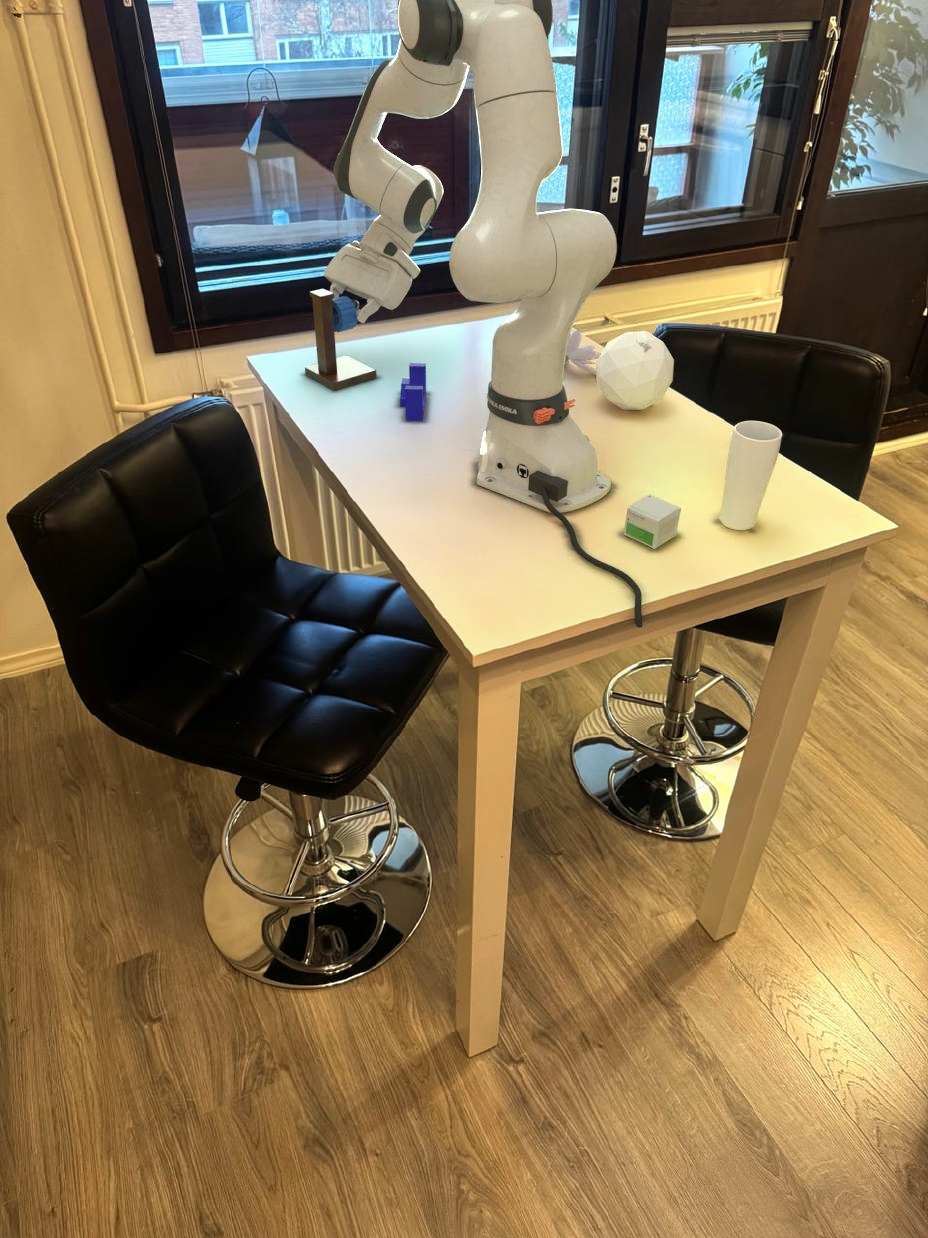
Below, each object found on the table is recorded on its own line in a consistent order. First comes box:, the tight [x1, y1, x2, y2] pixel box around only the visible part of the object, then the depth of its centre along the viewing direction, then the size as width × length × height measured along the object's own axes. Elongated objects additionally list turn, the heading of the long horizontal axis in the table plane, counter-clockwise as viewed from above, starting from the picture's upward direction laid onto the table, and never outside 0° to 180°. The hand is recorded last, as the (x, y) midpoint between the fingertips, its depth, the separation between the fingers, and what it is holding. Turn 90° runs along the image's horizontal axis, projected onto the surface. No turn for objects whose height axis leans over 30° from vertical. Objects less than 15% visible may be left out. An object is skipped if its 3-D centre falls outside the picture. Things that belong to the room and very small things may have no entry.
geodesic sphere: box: [595, 330, 675, 411], centre depth 164 cm, size 15×14×14 cm
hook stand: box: [304, 288, 377, 391], centre depth 172 cm, size 10×10×17 cm
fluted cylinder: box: [332, 295, 358, 333], centre depth 170 cm, size 3×6×6 cm, turn 41°
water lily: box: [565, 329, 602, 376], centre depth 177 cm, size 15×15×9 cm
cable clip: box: [399, 362, 427, 422], centre depth 164 cm, size 12×4×6 cm, turn 179°
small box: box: [623, 494, 682, 550], centre depth 130 cm, size 6×6×5 cm
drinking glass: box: [718, 420, 783, 531], centre depth 131 cm, size 7×7×15 cm
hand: (343, 313), depth 171 cm, fingers open, 8 cm apart
